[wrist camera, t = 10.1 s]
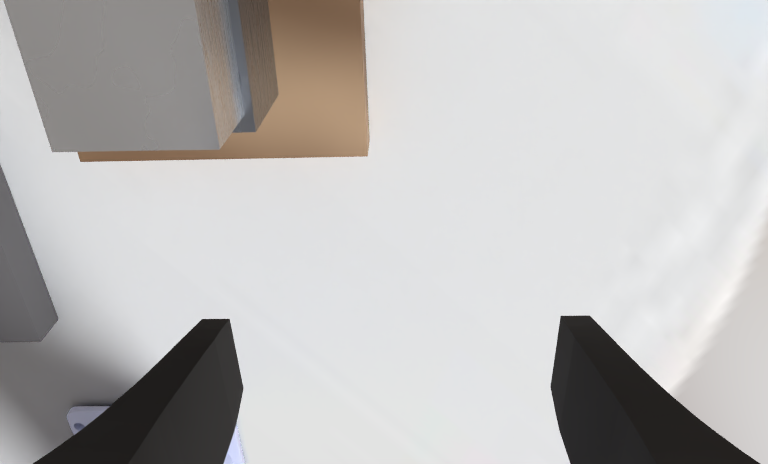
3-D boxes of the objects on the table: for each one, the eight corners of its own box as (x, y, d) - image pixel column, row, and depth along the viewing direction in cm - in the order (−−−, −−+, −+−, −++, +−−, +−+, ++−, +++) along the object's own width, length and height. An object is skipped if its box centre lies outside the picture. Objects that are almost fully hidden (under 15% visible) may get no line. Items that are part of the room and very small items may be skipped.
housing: (278, 94, 19) (233, 169, 14) (142, 97, 20) (48, 171, 14) (254, -120, 16) (185, -125, 11) (93, -115, 17) (-48, -118, 11)
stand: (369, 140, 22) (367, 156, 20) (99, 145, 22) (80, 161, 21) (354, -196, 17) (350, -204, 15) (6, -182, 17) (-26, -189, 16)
